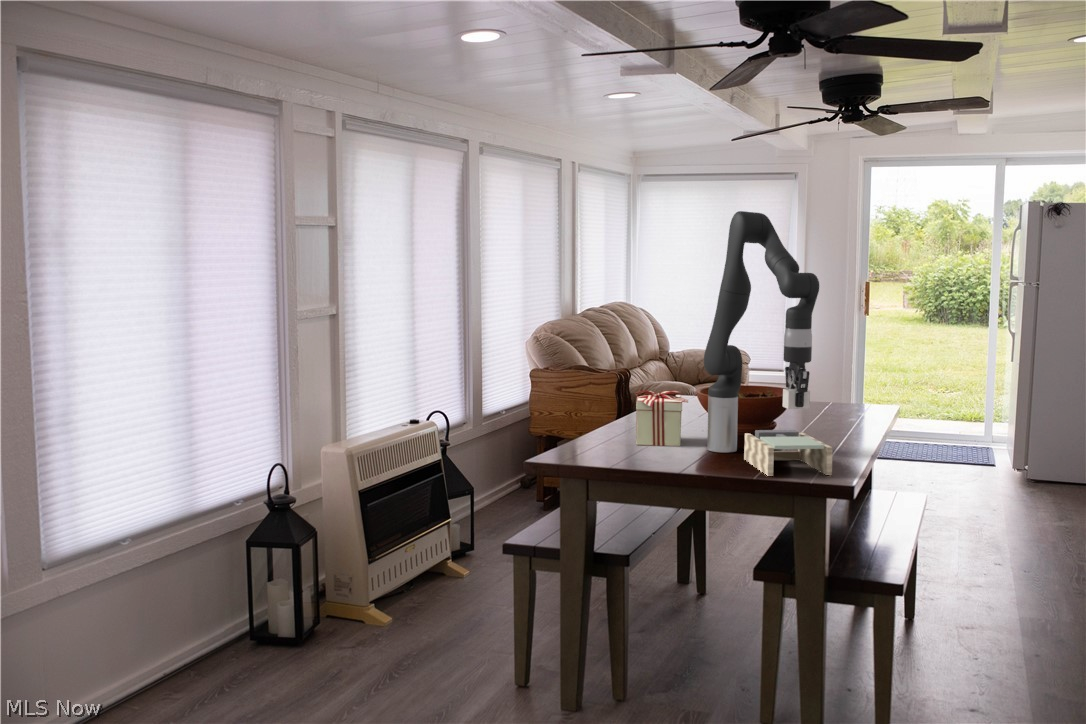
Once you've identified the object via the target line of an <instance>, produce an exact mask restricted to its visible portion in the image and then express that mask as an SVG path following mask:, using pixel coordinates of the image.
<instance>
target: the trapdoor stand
mask: <svg viewBox="0 0 1086 724" xmlns="http://www.w3.org/2000/svg"><path fill="white" fill-rule="evenodd" d="M803 436H807V437H809V438H811V439H813V440H815V441H817V442H819V443H821V444H823V445H824V449H797V450H775V449H774V448H773V447H771V446H770V445H768V444H766V443H765V442H763V441H762V440H760V439H758V438H757V437H755V435H753V434H751V432H750V433H748V432H746V433H744V447H743V449H744V451H743V452H744V453H743V460H744V461H745V460H746V463H748V462H749V463H748V464H750V465H751V466H752V465H753V467H754V468H755V469H756V468H757V469H756V470H758V471H759V470H760V473H762V472H763V473H764V474H763V473H762V474H763V475H765V474H766V475H767V476H773V477H774V461H797V460H796V459H800V460H802V461H803V462H802V461H801V462H802V463H804V462H805V463H807V464H809V465H810V466H812V467H813V468H812V467H811V468H812V469H814V468H815V469H817V470H819V471H821V472H822V473H824V474H825V475H832V476H833V448H834V447H832V446H831V445H829V444H826V443H825V442H823V441H821V440H819V439H816V438H814V437H812V436H810V435H809V434H807V433H806V432H799V437H803ZM800 460H799V461H800ZM805 463H804V464H805ZM807 464H806V465H807ZM809 465H808V466H809ZM810 466H809V467H810ZM815 469H814V470H815ZM817 470H816V471H817ZM819 471H818V472H819ZM822 473H821V474H822ZM824 474H823V475H824ZM766 475H765V476H766ZM825 475H824V476H825ZM767 476H766V477H767Z"/></svg>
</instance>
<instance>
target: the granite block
mask: <svg viewBox="0 0 1086 724" xmlns="http://www.w3.org/2000/svg"><path fill="white" fill-rule="evenodd" d="M795 394H796V393H795V389H788V388H783V389H782V407H783V408H785V409H787V410H810V407H811V406H810V403H811V402H810V399H811V391H810V390H808V391H807V392H805V394H804V406H803V407H796V406H795Z"/></svg>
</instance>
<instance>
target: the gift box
mask: <svg viewBox="0 0 1086 724" xmlns="http://www.w3.org/2000/svg"><path fill="white" fill-rule="evenodd" d="M635 396H636V402H635V403H636V404H635V406H636V407H635V410H636V415H635V418H636V421H635V423H636V424H635V427H636V428H635V430H636V432H635V433H636V435H635V443H636V444H635V445H637V446H651V447H652V446H653V447H655V446H656V447H681V438H682V437H681V435H682V434H681V433H682V432H681V431H682V430H681V429H682V412H683V403H689V399H686V398H682V392H680V391H678V390H672V391H668V390H663V391H662V392H660V393H659V392H658V393H656V392H654V391H652V390H639V391H636V392H635Z"/></svg>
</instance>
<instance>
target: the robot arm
mask: <svg viewBox="0 0 1086 724" xmlns="http://www.w3.org/2000/svg"><path fill="white" fill-rule="evenodd" d="M746 243H748V244H759V245H760V246H761V247H763V248H764V249H765V251H764V262H765V264H766V266H767V268H768V269H769V270H770V271H771V273H772V274H773V275H774V276H775V278H776V282H777V285H778V289H779V291H780V294H781V295H782V296H784V297H786V298H788V299H799V302H798V303H797V305H795V306H791V307H788V308H787V309H786V312H785V327H784V337H783V361H784V362H785V363H789V365H788V366H785V368H784V369H785V370H784V371H785V389H795V393H796V394H795V406H796V407H803V406H804V394H805V392H807V391H809V390H808V389H809V381H810V371H808V370H807V369H806V364H807V363H810V362H812V356H813V355H812V354H813V353H812V351H813V334H812V327H813V326H812V324H813V323H812V322H813V321H812V320H813V318H812V317H813V312H814V308H815V305H816V302H817V299H818V295H819V292H820V281H819V278H818V276H817V275H816V274H814V273H813V272H799V271H800V266H799V263H798V262H797V261H796V259H795V258H794V257H793V255H791V254H790V253H789V251H788V250H787V249H786V247H785V246H784V244H783V243H782V240H781V238H780V236H779V235H778V233H777V230H776V228H775V227H774V225H773V223H772V222H771V220H770V218H769V217H768V216H767V215H766V214H765V213H762V212H755V211H754V212H753V211H745V210H740V211H737V212H735V213H734V214H733V216H732V218H731V221H730V224H729V230H728V240H727V249H726V255H725V264H724V268H723V274H722V279H721V283H720V288H719V293H718V296H717V297H718V298H717V303H716V309H715V314H714V319H713V321H712V323H713V324H712V326H711V327H712V328H711V330H710V334H709V338H708V340H707V344H706V347H705V351H704V356H703V367H704V370H705V371H706V372H707V374H708V375H710V376H718V378H717V380H716V381H715V382H714V383H713V384H712V385H710V386H709V387H708V392H707V399H708V401H707V437H706V438H707V440H706V443H707V445H706V446H707V447H706V449H707V450H708V451H710V452H714V453H734V452H737V450H738V414H739V413H738V412H739V411H738V409H739V392H740V390H741V385H742V374H743V356H742V352H741V350H740V349H739V348H738V347H737V346H735V345H731V344H729V341H730V337H731V335H732V332H733V331H734V329H735V328H736V326H737V325H738V323H739V322H740V321H741V319H742V318H743V316H744V314H746V313H745V312H746V311H747V309H748V305H749V300H750V296H751V291H752V284H751V280H750V277H749V273H748V271H747V269H746V266H745V262H744V249H745V244H746Z"/></svg>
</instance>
